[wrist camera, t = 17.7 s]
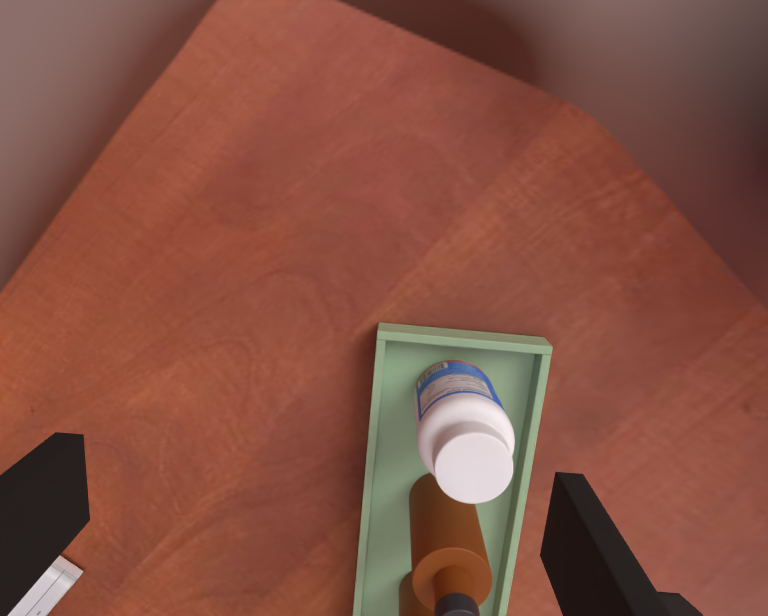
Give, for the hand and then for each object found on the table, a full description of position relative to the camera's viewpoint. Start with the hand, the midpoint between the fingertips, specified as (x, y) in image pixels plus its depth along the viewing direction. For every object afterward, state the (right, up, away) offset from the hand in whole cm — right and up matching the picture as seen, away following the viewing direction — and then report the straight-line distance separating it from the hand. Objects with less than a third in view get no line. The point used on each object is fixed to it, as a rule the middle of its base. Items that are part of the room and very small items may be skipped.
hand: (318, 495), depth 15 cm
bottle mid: (+6, -9, +23) cm, 25 cm away
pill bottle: (+7, -1, +21) cm, 22 cm away
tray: (+6, -8, +24) cm, 26 cm away
